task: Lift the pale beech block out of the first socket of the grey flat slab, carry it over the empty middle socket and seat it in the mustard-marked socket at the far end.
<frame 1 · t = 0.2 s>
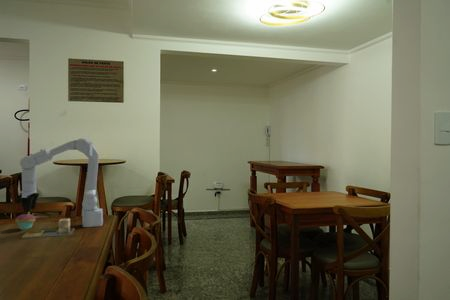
hand: (29, 210, 152), 10 cm above the table, tool pointing down, fingers open, 7 cm apart
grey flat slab: (49, 235, 146), on the table
beech block: (64, 232, 147), point 1 cm above the table, touching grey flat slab
cupcake: (25, 229, 156), on the table
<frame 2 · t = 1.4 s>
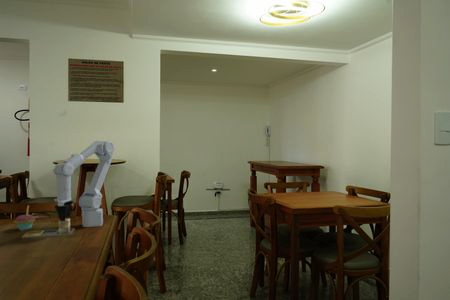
hand: (64, 218, 147), 7 cm above the table, tool pointing down, fingers open, 7 cm apart
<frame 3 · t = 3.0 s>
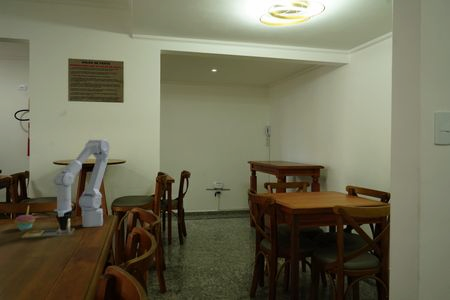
hand: (64, 228, 147), 3 cm above the table, tool pointing down, fingers closed on beech block, 4 cm apart
beech block: (64, 232, 147), point 1 cm above the table, touching gripper, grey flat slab
everything else where it was.
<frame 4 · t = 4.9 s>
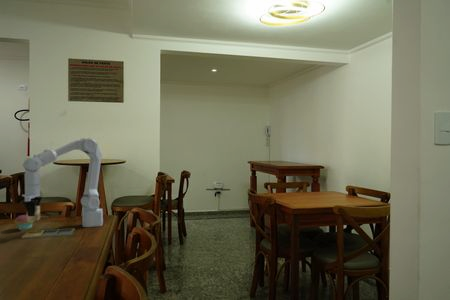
hand: (32, 214, 144), 10 cm above the table, tool pointing down, fingers closed on beech block, 4 cm apart
beech block: (34, 219, 144), point 8 cm above the table, touching gripper
everything else where it was.
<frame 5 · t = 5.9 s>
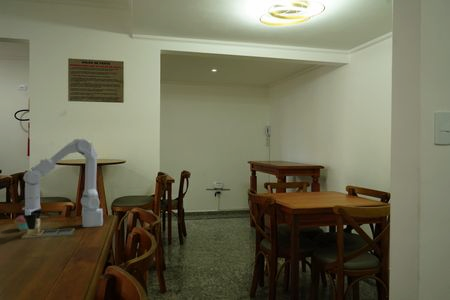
hand: (33, 227, 144), 4 cm above the table, tool pointing down, fingers closed on beech block, 4 cm apart
beech block: (34, 232, 144), point 2 cm above the table, touching gripper
everything else where it was.
when the fingers open (4 cm above the table, at t = 6.8 s): beech block stays where it is, resting on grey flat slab.
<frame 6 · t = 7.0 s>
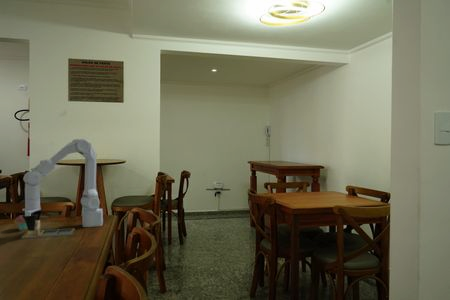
hand: (33, 228, 144), 4 cm above the table, tool pointing down, fingers open, 5 cm apart
beech block: (34, 234, 144), point 1 cm above the table, touching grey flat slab
everything else where it was.
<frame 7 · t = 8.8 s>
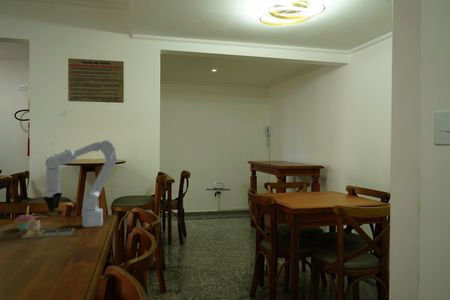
hand: (53, 209, 154), 10 cm above the table, tool pointing down, fingers open, 7 cm apart
nothing on the table moved.
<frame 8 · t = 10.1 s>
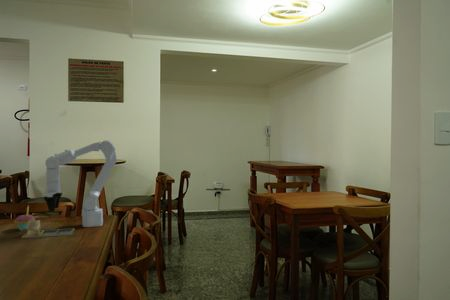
hand: (53, 209, 154), 10 cm above the table, tool pointing down, fingers open, 7 cm apart
nothing on the table moved.
at the end: beech block 0.3 cm from the target spot on the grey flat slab, point 0.9 cm above the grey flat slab's base; beech block tilted 0°; the gripper is holding nothing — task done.
